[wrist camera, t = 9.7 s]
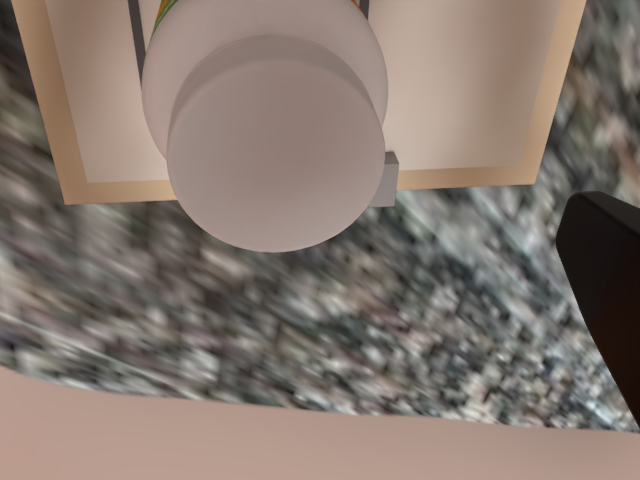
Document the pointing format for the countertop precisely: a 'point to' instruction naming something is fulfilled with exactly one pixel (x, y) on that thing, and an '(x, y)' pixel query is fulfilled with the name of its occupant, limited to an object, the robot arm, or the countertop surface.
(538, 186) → the countertop surface
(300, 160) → the supplement bottle
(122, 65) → the beige rectangular board
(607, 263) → the robot arm
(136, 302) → the countertop surface
